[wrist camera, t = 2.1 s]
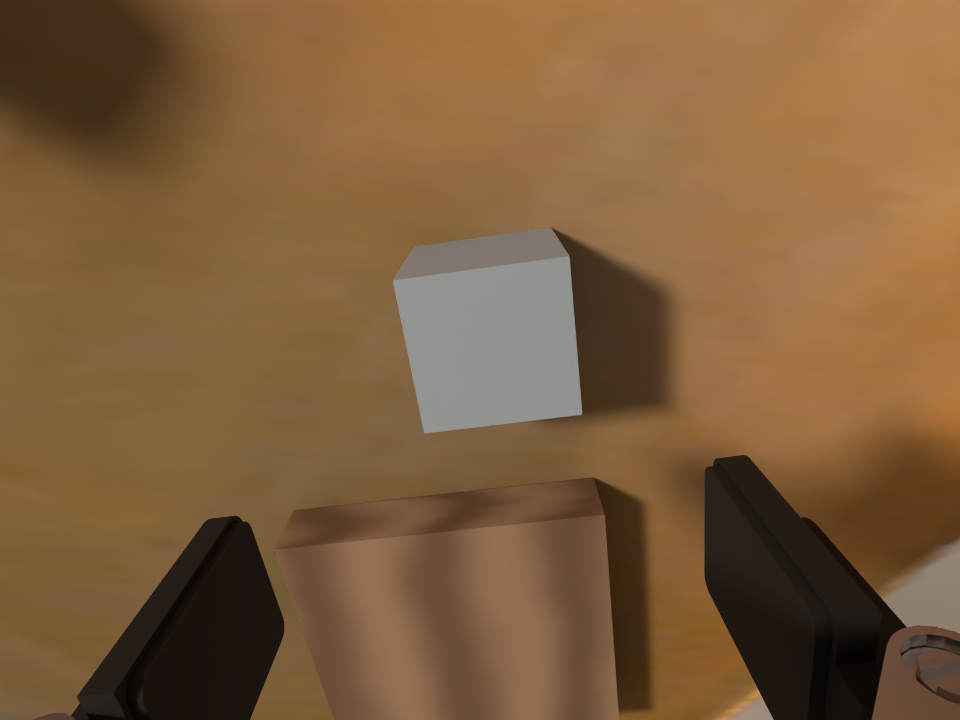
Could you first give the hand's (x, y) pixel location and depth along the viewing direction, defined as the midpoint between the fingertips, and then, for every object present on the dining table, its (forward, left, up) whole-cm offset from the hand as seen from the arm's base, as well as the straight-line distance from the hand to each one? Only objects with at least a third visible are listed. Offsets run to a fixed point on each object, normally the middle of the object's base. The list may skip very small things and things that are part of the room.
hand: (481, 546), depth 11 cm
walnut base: (+4, +17, -15) cm, 24 cm away
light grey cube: (0, -1, -16) cm, 15 cm away
